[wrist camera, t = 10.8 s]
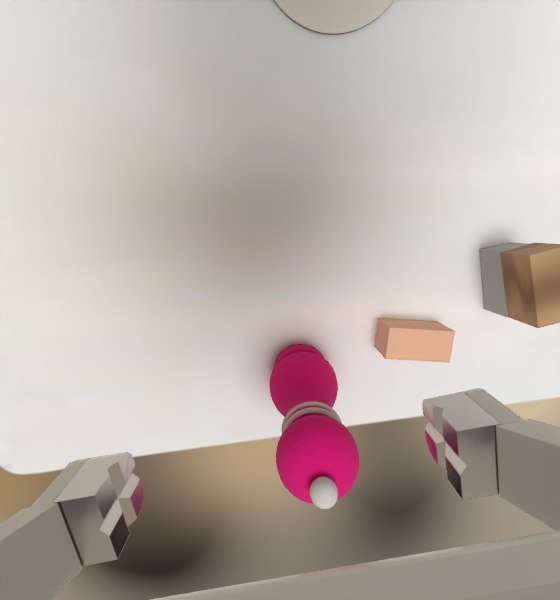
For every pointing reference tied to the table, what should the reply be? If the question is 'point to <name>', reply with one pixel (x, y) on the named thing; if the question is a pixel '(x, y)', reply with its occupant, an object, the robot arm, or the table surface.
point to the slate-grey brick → (494, 277)
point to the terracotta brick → (414, 340)
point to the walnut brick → (532, 283)
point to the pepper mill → (311, 429)
